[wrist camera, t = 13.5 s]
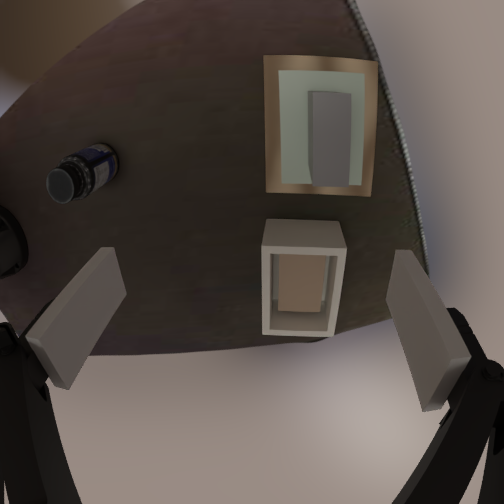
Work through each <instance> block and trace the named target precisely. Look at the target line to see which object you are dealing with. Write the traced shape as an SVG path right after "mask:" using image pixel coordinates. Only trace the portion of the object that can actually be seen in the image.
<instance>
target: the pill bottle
mask: <svg viewBox="0 0 504 504" xmlns="http://www.w3.org/2000/svg"><path fill="white" fill-rule="evenodd" d="M117 171H118V158H117V156H116V154H115V152H114V151H113V149H112V148H111V147H109V146H108V145H106V144H102V143H98V144H94V145H92V146H90V147H87V148H85V149H83V150H80V151H78V152H76V153H74V154H71V155H69V156H67V157H65V158H64V159H63V160H61V161H60V163H59V164H58V166H57V167H56V168H54V169H53V170H51V171H50V172H49V174H48V176H47V181H46V185H47V190H48V193H49V195H50V196H51V197H52V199H53V200H54V201H56V202H58V203H60V204H66V203H68V202H70V201H71V200H80V199H83V198H85V197H87V196H88V195H89V194H91V193H92V192H94V191H95V190H96V189H98V188H99V187H101V186H102V185H104V184H105V183H107V182H108V181H110V180H111V179H113V178H114V177H115V175H116V173H117Z"/></svg>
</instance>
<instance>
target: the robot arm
mask: <svg viewBox="0 0 504 504" xmlns="http://www.w3.org/2000/svg"><path fill="white" fill-rule="evenodd" d="M27 259H28V247H27V242H26V239H25V236H24V233H23V231H22V229H21V227H20V225H19V224H18V222H17V220H16V219H15V218H14V216H13V215H12V214H11V213H10V212H9V211H8V210H6V209H5V208H3V207H1V206H0V279H3V278H5V277H8V276H11V275H14V274H16V273H17V272H19V271H20V270H21V269H22V268H23V267H24V266H25V265H26V262H27ZM126 294H127V293H126V290H125V286H124V283H123V279H122V276H121V272H120V268H119V265H118V261H117V257H116V253H115V249H114V247H101V248H100V249H99V250H98V251H97V252H96V254H95V255H94V256H93V257H92V258H91V259H90V260H89V261H88V262H87V263H86V264H85V265H84V267H83V268H82V269H81V270H80V271H79V272H78V273H77V274H76V275H75V277H74V278H73V279H72V280H71V281H70V282H69V283H68V285H67V286H66V287H65V288H64V289H63V290H62V291H61V293H60V294H59V295H58V296H57V297H56V298H54V299H53V300H51V301H50V302H48V303H47V304H46V305H45V306H44V307H43V308H42V310H41V311H40V313H38V314H37V316H36V317H35V319H33V320H32V322H31V323H30V324H29V325H28V327H27V328H26V329H25V330H24V332H23V333H22V334H21V336H20V337H19V338H18V336H17V335H16V333H15V331H14V329H13V327H12V325H11V324H10V323H8V322H3V323H0V504H4V481H5V486H6V491H7V496H8V500H9V504H82V503H81V500H80V497H79V495H78V492H77V489H76V487H75V484H74V481H73V478H72V475H71V472H70V469H69V466H68V463H67V460H66V457H65V453H64V450H63V447H62V443H61V440H60V436H59V432H58V428H57V424H56V420H55V416H54V412H53V408H52V403H51V398H50V393H49V388H48V386H47V384H46V383H45V381H46V380H47V378H48V377H49V378H50V379H51V381H52V383H53V384H54V386H56V387H59V388H63V389H66V390H69V389H70V387H71V385H72V383H73V382H74V380H75V378H76V376H77V375H78V373H79V371H80V369H81V368H82V366H83V364H84V362H85V361H86V359H87V357H88V356H89V354H90V352H91V351H92V349H93V347H94V346H95V344H96V342H97V341H98V339H99V337H100V336H101V334H102V332H103V331H104V329H105V327H106V326H107V324H108V323H109V321H110V319H111V318H112V316H113V315H114V313H115V311H116V310H117V308H118V307H119V305H120V304H121V302H122V300H123V299H124V297H125V296H126ZM386 302H387V305H388V307H389V310H390V313H391V315H392V318H393V321H394V324H395V327H396V329H397V332H398V335H399V337H400V341H401V344H402V346H403V350H404V353H405V356H406V358H407V362H408V365H409V368H410V371H411V374H412V377H413V380H414V384H415V387H416V391H417V394H418V397H419V401H420V404H421V408H422V411H423V412H426V411H432V410H438V409H441V408H442V406H443V405H444V403H445V402H446V400H448V403H449V406H450V409H449V410H448V412H447V413H446V415H445V416H444V417H443V419H442V420H441V422H440V423H439V424H440V427H439V429H438V431H437V433H436V434H435V436H434V438H433V440H432V442H431V443H430V445H429V447H428V449H427V450H426V452H425V454H424V455H423V457H422V459H421V460H420V462H419V464H418V465H417V467H416V469H415V470H414V472H413V473H412V475H411V476H410V478H409V479H408V481H407V482H406V484H405V485H404V487H403V488H402V490H401V491H400V493H399V494H398V495H397V497H396V498H395V500H394V501H393V502H392V504H459V502H460V500H461V499H462V497H463V495H464V493H465V490H466V489H467V486H468V485H469V482H470V480H471V478H472V476H473V474H474V472H475V469H476V467H477V465H478V463H479V460H480V458H481V455H482V453H483V451H484V448H485V445H486V443H487V440H488V438H489V442H488V450H487V458H486V463H485V469H484V475H483V481H482V485H481V490H480V494H479V499H478V503H477V504H504V369H503V367H502V366H501V365H500V364H499V363H497V362H495V361H493V360H489V359H487V357H486V355H485V354H484V351H483V349H482V348H481V346H480V344H479V342H478V340H477V338H476V336H475V335H474V334H473V331H472V329H471V328H470V327H469V324H468V322H467V321H466V319H465V317H464V316H463V314H461V313H460V312H459V311H458V310H457V309H456V308H446V307H445V305H444V304H443V302H442V300H441V298H440V297H439V295H438V293H437V291H436V290H435V288H434V286H433V285H432V283H431V281H430V280H429V278H428V276H427V275H426V273H425V271H424V270H423V268H422V267H421V265H420V263H419V262H418V260H417V259H416V257H415V255H414V254H413V252H412V251H411V250H396V252H395V257H394V262H393V267H392V272H391V277H390V282H389V287H388V291H387V296H386Z"/></svg>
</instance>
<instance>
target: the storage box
mask: <svg viewBox="0 0 504 504" xmlns="http://www.w3.org/2000/svg"><path fill="white" fill-rule="evenodd" d="M261 251H262V334H263V335H284V336H316V337H333V336H334V331H335V325H336V319H337V313H338V307H339V301H340V295H341V288H342V282H343V275H344V268H345V260H346V252H347V247H346V244H345V240H344V237H343V233H342V230H341V227H340V224H339V221H325V220H297V219H266V224H265V229H264V235H263V240H262V245H261Z"/></svg>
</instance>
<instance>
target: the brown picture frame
mask: <svg viewBox="0 0 504 504" xmlns="http://www.w3.org/2000/svg"><path fill="white" fill-rule="evenodd" d="M278 70H306V71H335V72H350V73H363V74H364V76H365V110H364V146H363V166H362V182H361V185H349V187H320V186H312V184H282V178H281V131H280V98H279V71H278ZM377 97H378V62H376V61H368V60H359V59H349V58H338V57H323V56H300V55H264V99H265V156H266V193H304V194H329V195H350V196H367V197H371V188H372V178H373V167H374V154H375V140H376V122H377Z"/></svg>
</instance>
